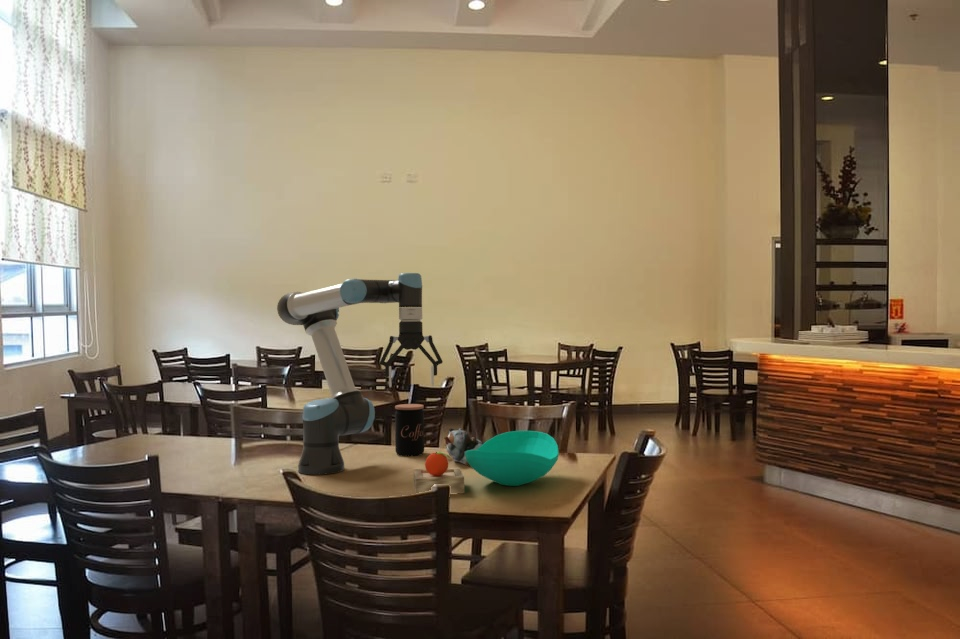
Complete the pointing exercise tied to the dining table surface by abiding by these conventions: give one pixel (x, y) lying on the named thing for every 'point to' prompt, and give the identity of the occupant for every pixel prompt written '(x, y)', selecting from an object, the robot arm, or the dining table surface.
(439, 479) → the tray
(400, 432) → the coffee jar
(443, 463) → the clementine
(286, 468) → the dining table surface
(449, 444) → the grey sculpted piece
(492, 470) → the table top decor
